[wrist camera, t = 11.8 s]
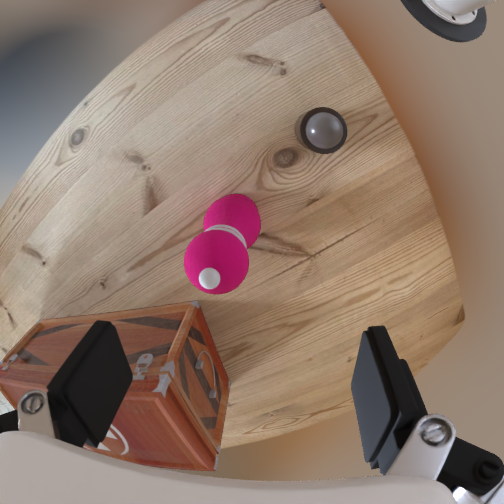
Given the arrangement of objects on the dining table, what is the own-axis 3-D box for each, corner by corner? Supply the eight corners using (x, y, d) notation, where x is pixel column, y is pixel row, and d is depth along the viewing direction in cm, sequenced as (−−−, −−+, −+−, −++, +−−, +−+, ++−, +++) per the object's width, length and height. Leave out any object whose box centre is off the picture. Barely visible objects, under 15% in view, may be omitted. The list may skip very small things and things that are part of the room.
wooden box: (37, 318, 54) (-13, 373, 36) (199, 297, 48) (162, 389, 30) (78, 385, 62) (44, 442, 43) (232, 384, 56) (218, 471, 37)
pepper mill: (224, 246, 45) (191, 329, 26) (202, 202, 42) (149, 260, 24) (270, 228, 43) (266, 305, 25) (249, 181, 41) (228, 227, 22)
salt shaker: (293, 111, 37) (301, 104, 27) (332, 112, 36) (352, 106, 27) (295, 149, 39) (302, 155, 29) (333, 149, 38) (352, 156, 29)
